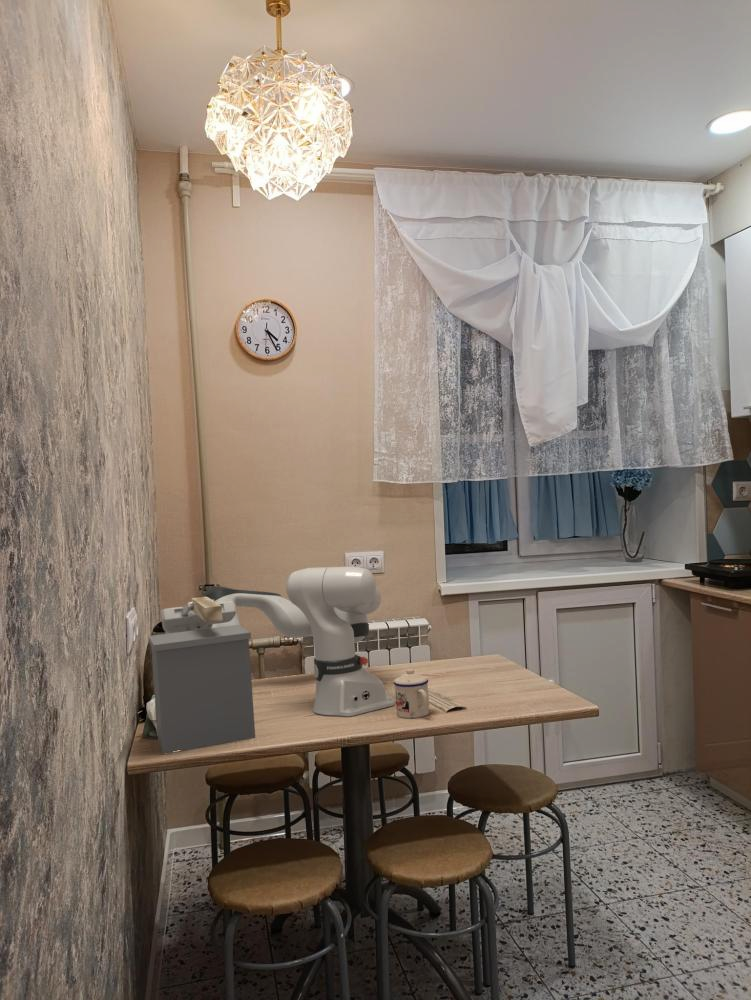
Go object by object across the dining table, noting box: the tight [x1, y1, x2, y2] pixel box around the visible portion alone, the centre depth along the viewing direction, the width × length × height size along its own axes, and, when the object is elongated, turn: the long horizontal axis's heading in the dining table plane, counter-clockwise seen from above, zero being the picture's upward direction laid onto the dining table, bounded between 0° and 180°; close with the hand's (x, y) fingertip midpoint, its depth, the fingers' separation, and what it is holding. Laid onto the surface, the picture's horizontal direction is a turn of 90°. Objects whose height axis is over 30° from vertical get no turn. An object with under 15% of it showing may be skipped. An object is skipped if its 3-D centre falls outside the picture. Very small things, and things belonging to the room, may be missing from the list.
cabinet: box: [147, 624, 256, 755], centre depth 184 cm, size 23×15×26 cm, turn 112°
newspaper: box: [428, 687, 468, 714], centre depth 204 cm, size 24×7×2 cm, turn 20°
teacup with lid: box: [393, 668, 430, 719], centre depth 191 cm, size 12×9×12 cm
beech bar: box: [191, 596, 223, 622], centre depth 190 cm, size 4×24×4 cm, turn 22°
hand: (201, 603), depth 198 cm, fingers closed on beech bar, 4 cm apart
